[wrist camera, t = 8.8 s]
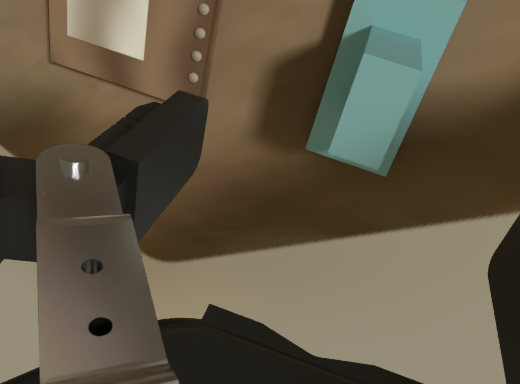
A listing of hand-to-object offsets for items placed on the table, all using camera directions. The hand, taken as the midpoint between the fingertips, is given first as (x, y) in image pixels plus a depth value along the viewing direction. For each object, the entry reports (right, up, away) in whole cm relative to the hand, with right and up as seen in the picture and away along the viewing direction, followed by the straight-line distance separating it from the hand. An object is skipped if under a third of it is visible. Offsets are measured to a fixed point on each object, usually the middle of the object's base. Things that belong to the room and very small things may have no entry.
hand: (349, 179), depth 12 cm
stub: (+6, +8, +20) cm, 22 cm away
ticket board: (-10, +13, +21) cm, 27 cm away
